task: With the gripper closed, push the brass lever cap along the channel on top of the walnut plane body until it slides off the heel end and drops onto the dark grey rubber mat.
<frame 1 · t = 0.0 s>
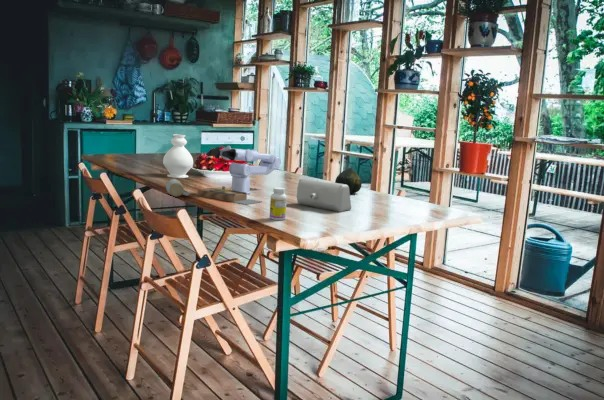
hand: (216, 152, 271), 22 cm above the table, tool horizontal, fingers open, 7 cm apart
ceramic mug: (177, 196, 272), on the table
decorative vase: (177, 176, 340), on the table
supplement bottle: (277, 219, 233), on the table
mat: (247, 202, 267), on the table
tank: (320, 208, 265), on the table
plane body: (222, 197, 275), on the table
squash: (347, 193, 319), on the table
lever cap: (222, 191, 274), point 3 cm above the table, touching plane body
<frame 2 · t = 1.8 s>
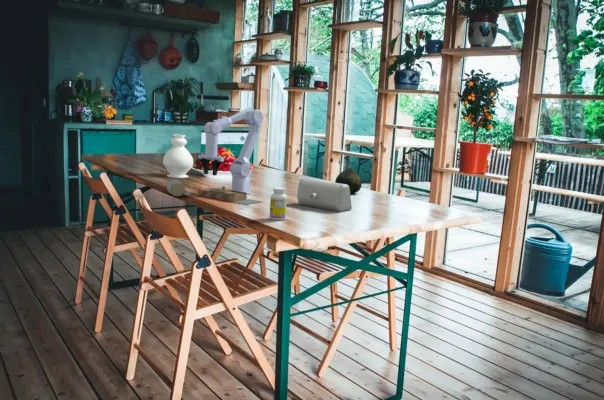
hand: (210, 174, 277), 10 cm above the table, tool pointing down, fingers open, 5 cm apart
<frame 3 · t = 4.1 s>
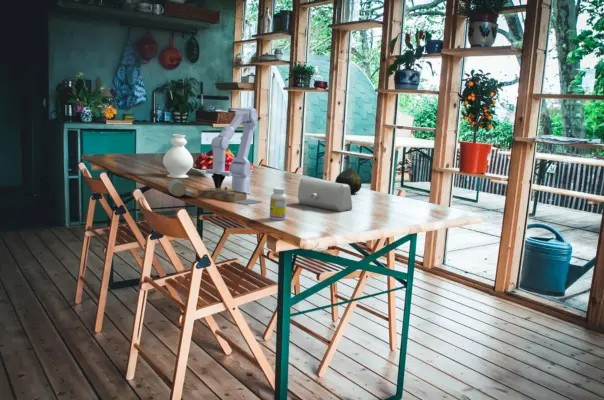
hand: (217, 189, 275), 4 cm above the table, tool pointing down, fingers closed
lever cap: (224, 192, 273), point 3 cm above the table, touching plane body
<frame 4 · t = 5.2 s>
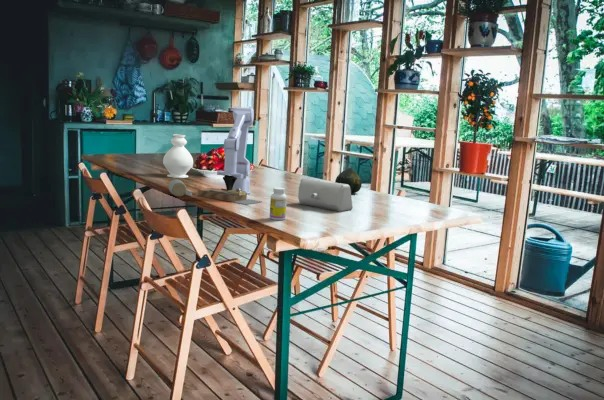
hand: (229, 191, 272), 4 cm above the table, tool pointing down, fingers closed
lever cap: (236, 194, 270), point 3 cm above the table, touching gripper, plane body
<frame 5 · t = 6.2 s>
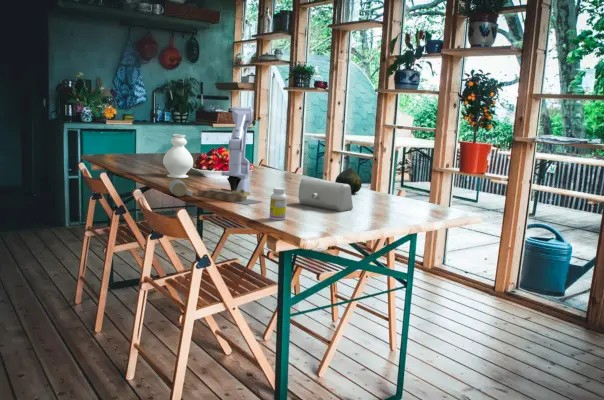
hand: (233, 192, 271), 4 cm above the table, tool pointing down, fingers closed
lever cap: (240, 194, 269), point 3 cm above the table, touching gripper
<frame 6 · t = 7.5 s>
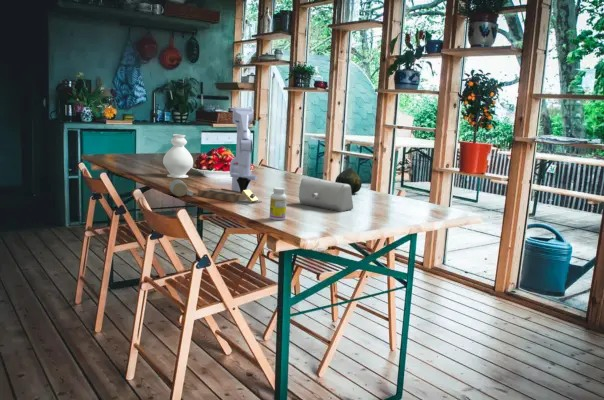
hand: (243, 193, 268), 4 cm above the table, tool pointing down, fingers closed
lever cap: (249, 197, 266), point 2 cm above the table, tilted 37°, touching gripper, mat
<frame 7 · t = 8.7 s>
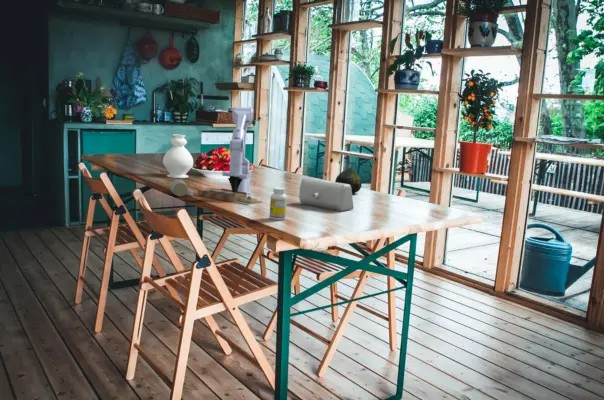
hand: (234, 192, 270), 4 cm above the table, tool pointing down, fingers closed
lever cap: (247, 201, 267), resting on mat
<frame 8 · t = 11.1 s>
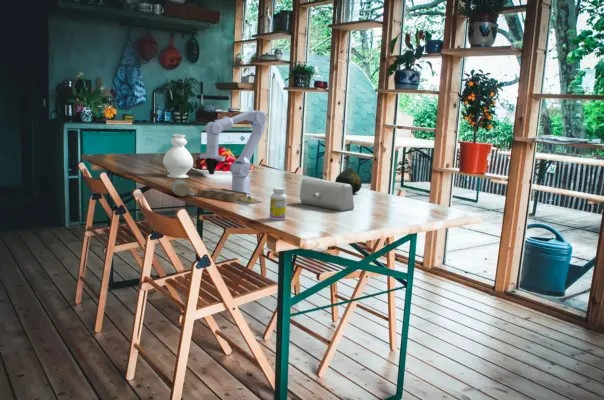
hand: (211, 174, 279), 10 cm above the table, tool pointing down, fingers closed
at the end: lever cap inside the target area (1.9 cm from its centre), resting on mat; lever cap moved 15.6 cm from its start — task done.
